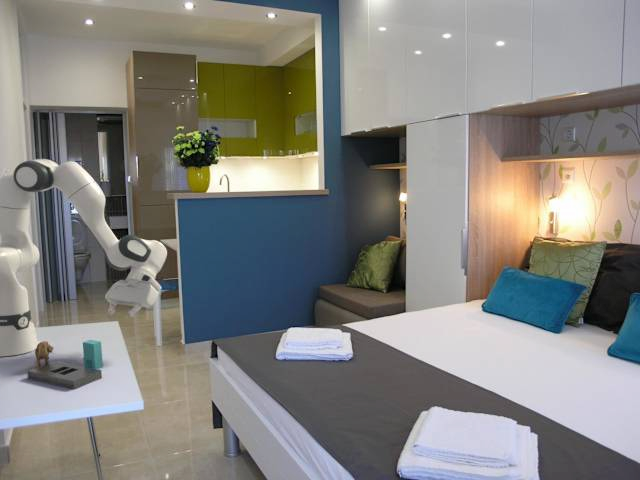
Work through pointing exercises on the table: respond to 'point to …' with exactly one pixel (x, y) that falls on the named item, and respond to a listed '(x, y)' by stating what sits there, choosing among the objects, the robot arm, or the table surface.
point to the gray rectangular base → (64, 374)
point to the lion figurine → (43, 352)
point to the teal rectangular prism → (92, 354)
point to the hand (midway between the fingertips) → (119, 314)
